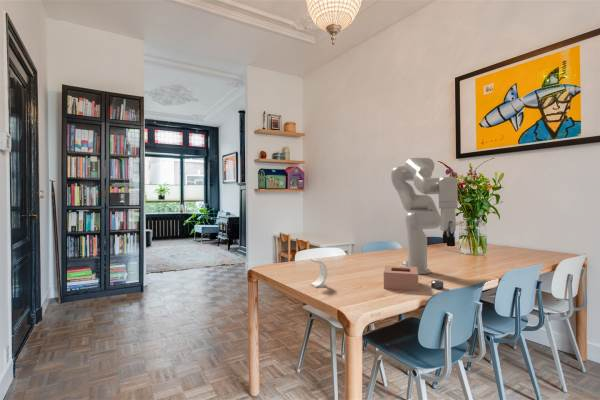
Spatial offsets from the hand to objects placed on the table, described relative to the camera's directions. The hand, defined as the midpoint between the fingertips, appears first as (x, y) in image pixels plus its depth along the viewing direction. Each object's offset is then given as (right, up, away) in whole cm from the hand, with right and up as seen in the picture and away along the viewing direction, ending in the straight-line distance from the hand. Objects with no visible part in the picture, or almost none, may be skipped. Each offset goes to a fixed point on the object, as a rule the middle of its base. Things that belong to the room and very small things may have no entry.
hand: (448, 244), depth 141 cm
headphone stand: (-56, -19, +4) cm, 60 cm away
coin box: (-20, -19, +3) cm, 27 cm away
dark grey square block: (-6, -19, -2) cm, 19 cm away
